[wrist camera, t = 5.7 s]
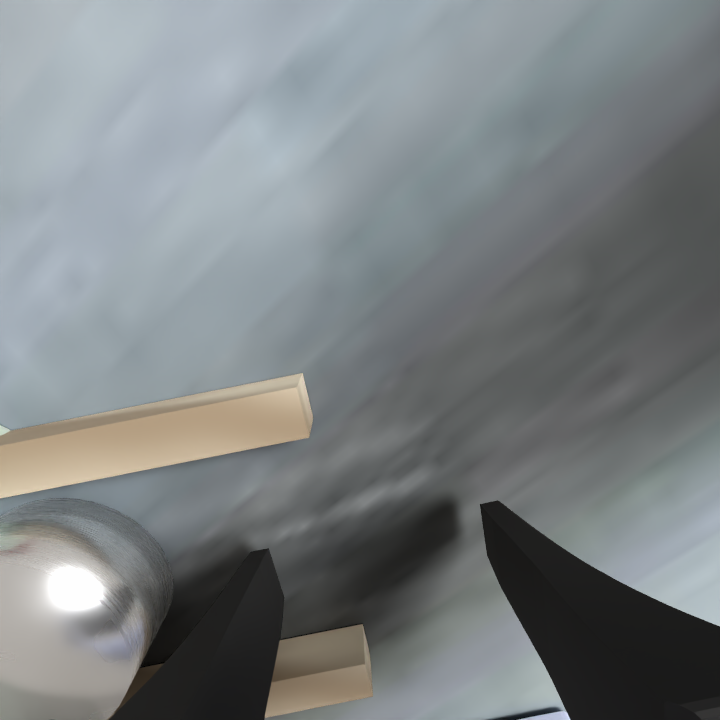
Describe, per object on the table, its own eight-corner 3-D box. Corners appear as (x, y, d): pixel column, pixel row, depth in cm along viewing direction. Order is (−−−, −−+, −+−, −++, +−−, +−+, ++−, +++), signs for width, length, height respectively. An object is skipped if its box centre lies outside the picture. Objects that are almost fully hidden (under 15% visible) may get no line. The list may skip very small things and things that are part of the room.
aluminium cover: (199, 630, 14) (162, 722, 11) (26, 665, 14) (-55, 767, 11) (139, 477, 13) (77, 539, 10) (-57, 517, 13) (-177, 591, 10)
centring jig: (377, 688, 15) (386, 787, 12) (-41, 771, 15) (-132, 890, 12) (288, 316, 11) (270, 330, 8) (-272, 426, 11) (-488, 480, 8)
